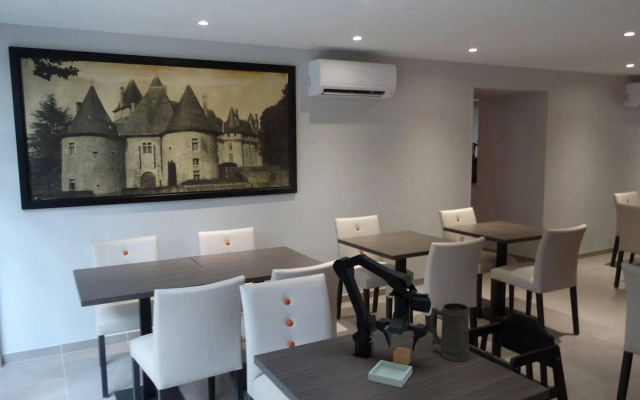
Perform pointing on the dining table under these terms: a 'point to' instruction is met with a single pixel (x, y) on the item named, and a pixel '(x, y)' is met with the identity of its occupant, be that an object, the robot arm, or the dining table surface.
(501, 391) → the dining table surface
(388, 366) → the sage tray
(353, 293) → the robot arm
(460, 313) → the beer stein
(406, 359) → the orange cube
